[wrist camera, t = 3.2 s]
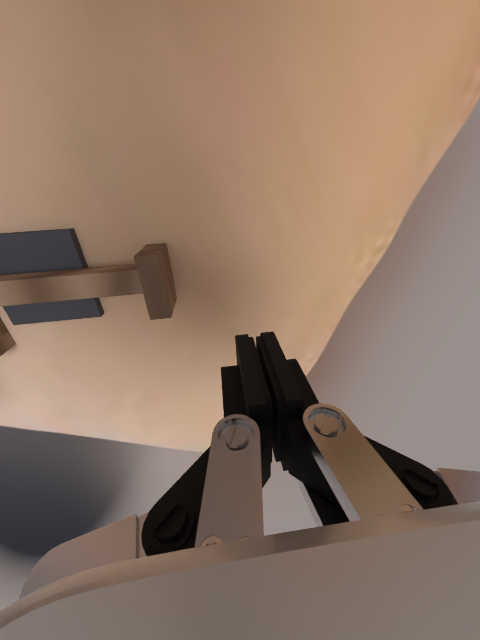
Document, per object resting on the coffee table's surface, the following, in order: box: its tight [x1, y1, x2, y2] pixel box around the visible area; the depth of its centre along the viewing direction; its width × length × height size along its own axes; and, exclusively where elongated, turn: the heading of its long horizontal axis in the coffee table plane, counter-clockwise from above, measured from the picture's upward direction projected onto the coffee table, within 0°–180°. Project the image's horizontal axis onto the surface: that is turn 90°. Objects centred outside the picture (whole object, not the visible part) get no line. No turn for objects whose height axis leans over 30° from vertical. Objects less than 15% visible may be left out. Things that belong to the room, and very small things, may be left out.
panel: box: [0, 228, 104, 325], centre depth 22 cm, size 8×8×1 cm
